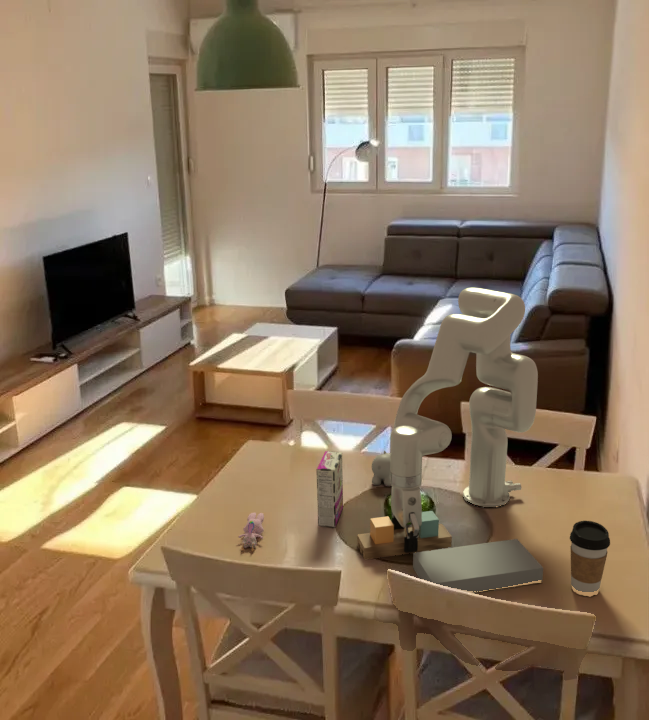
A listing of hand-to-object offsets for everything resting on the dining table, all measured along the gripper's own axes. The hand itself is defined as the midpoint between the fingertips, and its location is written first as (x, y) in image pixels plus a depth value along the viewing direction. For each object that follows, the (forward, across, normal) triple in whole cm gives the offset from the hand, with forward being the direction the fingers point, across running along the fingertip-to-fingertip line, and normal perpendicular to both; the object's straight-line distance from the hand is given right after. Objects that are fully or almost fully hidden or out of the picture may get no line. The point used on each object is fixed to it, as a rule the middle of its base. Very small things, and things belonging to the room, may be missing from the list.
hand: (404, 541), depth 194 cm
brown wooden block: (+2, 0, 0) cm, 2 cm away
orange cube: (-2, 0, +6) cm, 6 cm away
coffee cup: (+2, -27, -33) cm, 43 cm away
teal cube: (-2, 0, -6) cm, 6 cm away
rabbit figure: (+2, +14, +35) cm, 38 cm away
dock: (+1, -16, -12) cm, 20 cm away
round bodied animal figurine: (+2, +37, -7) cm, 38 cm away
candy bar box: (+2, +19, +14) cm, 24 cm away
